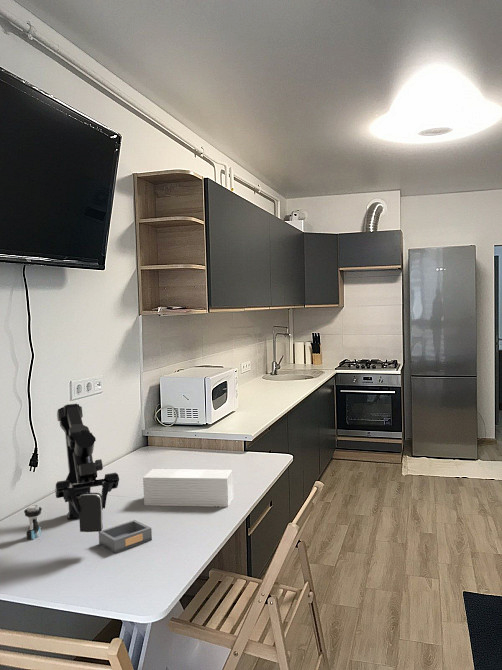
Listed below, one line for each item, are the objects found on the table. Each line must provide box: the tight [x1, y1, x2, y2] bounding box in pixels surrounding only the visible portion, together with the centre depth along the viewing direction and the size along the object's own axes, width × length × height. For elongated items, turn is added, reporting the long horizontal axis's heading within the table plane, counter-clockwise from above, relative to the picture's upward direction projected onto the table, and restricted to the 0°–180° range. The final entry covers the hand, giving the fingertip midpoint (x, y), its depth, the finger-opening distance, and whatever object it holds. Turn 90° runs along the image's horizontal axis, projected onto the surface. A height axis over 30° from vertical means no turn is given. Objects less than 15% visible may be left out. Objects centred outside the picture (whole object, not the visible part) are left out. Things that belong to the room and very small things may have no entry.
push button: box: [23, 504, 43, 540], centre depth 187 cm, size 7×5×10 cm
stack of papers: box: [142, 468, 235, 508], centre depth 215 cm, size 32×11×11 cm, turn 81°
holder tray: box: [98, 519, 153, 554], centre depth 179 cm, size 10×13×4 cm
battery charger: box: [78, 492, 104, 533], centre depth 173 cm, size 7×4×11 cm, turn 88°
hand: (91, 510), depth 172 cm, fingers closed on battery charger, 7 cm apart
